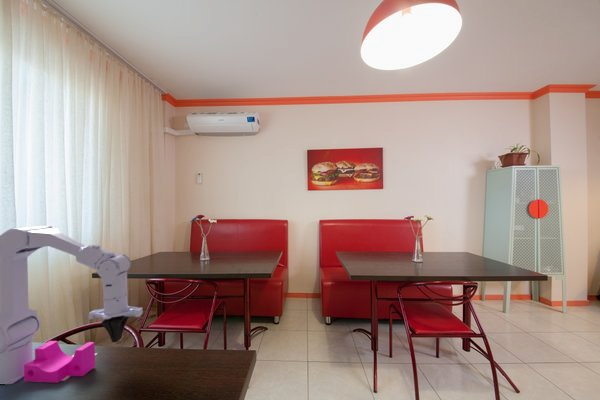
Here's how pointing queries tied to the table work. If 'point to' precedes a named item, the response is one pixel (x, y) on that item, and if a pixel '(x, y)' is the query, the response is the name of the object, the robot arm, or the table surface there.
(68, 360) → the toy block
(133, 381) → the table surface
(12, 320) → the robot arm
